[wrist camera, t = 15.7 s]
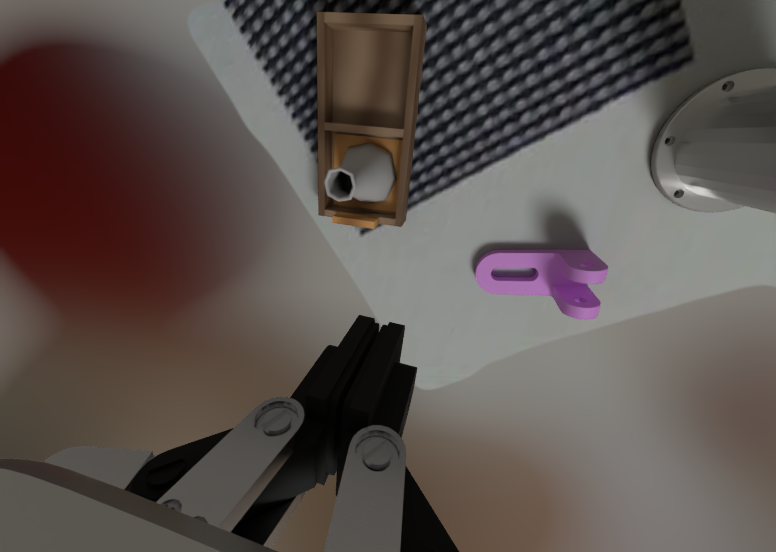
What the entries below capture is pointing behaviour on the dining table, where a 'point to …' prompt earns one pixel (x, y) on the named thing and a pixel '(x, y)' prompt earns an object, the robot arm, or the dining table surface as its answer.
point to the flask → (362, 175)
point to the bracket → (548, 277)
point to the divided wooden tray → (368, 103)
